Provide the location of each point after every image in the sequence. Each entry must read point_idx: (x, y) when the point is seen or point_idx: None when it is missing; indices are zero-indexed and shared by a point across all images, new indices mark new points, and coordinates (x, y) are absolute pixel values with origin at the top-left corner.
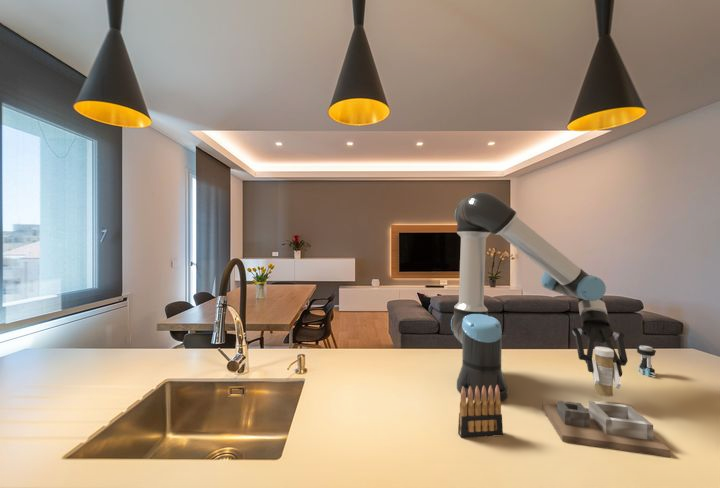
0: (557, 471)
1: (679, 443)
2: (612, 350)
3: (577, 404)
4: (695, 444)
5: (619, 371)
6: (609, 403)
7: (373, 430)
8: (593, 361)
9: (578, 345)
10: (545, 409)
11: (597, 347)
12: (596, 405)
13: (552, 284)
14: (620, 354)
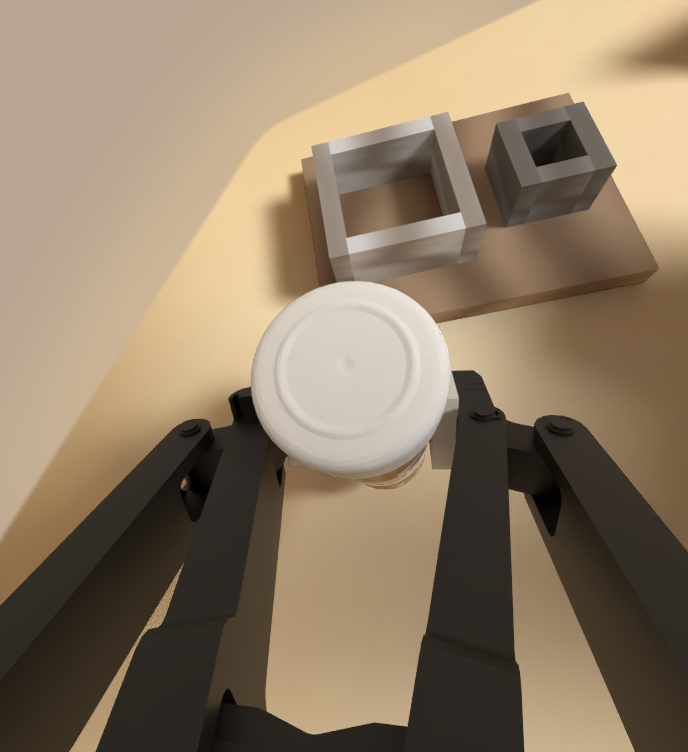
0: (569, 9)
1: (248, 251)
2: (270, 332)
3: (534, 170)
4: (209, 266)
5: None
6: (405, 239)
7: None
8: (450, 389)
9: (657, 516)
10: (635, 230)
11: (418, 372)
12: (460, 196)
13: None
14: (177, 499)
